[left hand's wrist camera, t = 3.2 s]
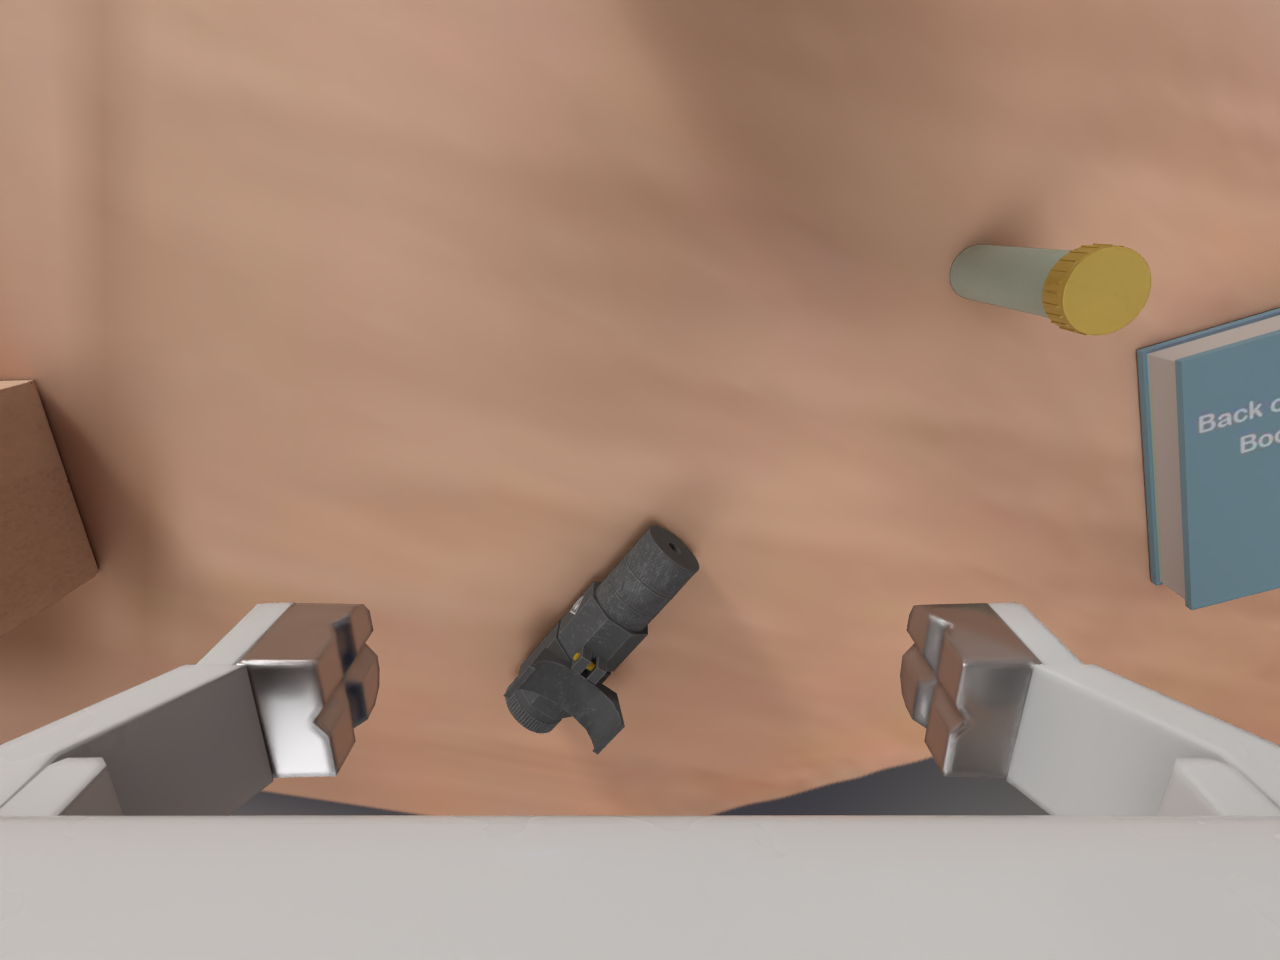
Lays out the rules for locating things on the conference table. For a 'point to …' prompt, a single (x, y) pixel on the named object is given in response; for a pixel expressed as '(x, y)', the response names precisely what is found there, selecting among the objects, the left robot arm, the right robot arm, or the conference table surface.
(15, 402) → the box
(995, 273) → the jar
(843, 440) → the conference table surface
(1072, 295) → the lid
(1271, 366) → the book
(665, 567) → the laser sight
